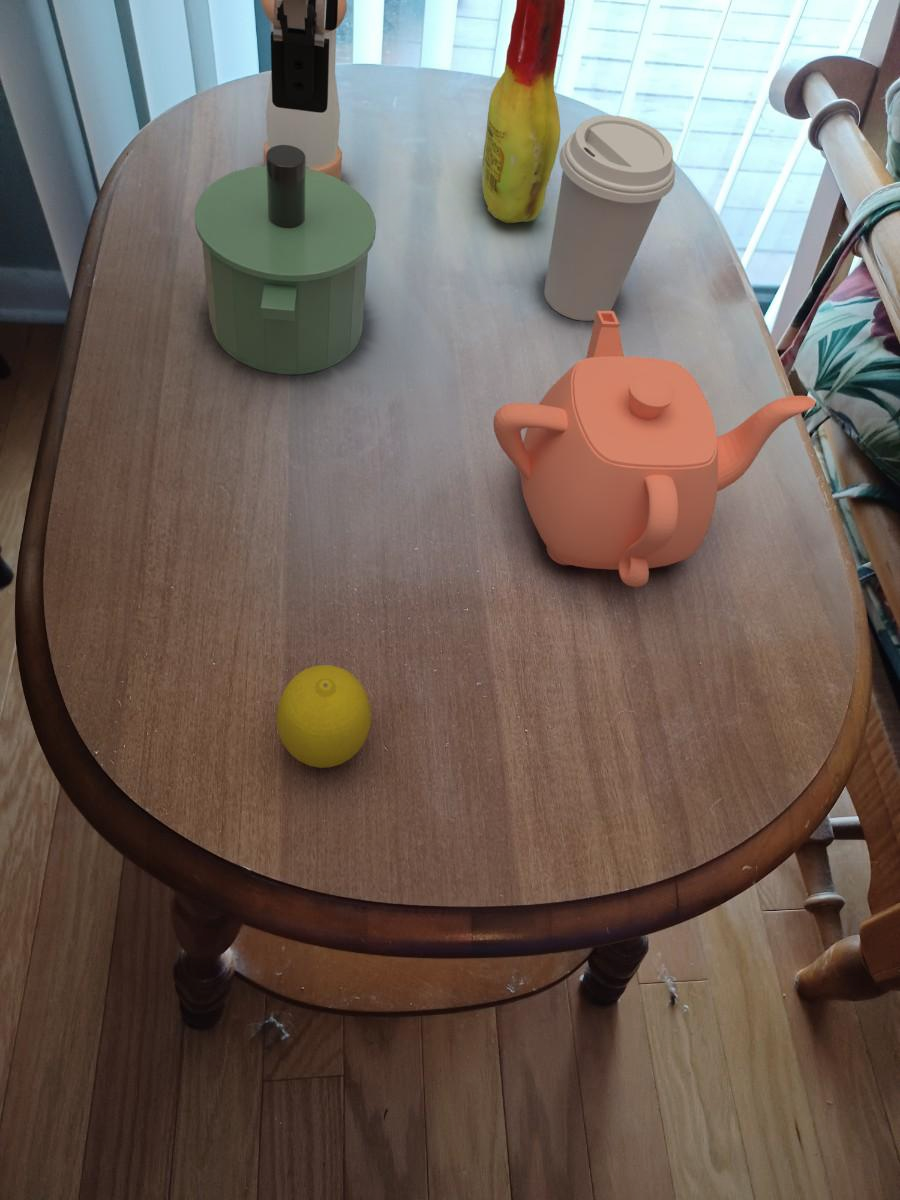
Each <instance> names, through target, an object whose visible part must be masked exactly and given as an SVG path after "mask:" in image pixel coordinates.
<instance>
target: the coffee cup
mask: <svg viewBox="0 0 900 1200" xmlns="http://www.w3.org/2000/svg"><path fill="white" fill-rule="evenodd" d="M673 156H674V152H673V147H672V145H671V142H670V141H669V140H668V139H667V137H666V136H664V134H663V133H662V132H661V131H659V130H657V129H656V128H654V127H653V126H651V125H649V124H647V123H645V122H642V121H640V120H637V119H635V118H631V117H626V116H620V115H597V116H593V117H590V118H587V119H586V120H584V121H582V122H581V123H580V124H578V127H577V128H576V130H575V131H574V132H573V133H572V134H570V136H569V137H568V138H567V140H566V141H565V142H564V144H563V146H562V147H561V150H560V152H559V156H558V157H559V159H558V160H559V164H560V167H561V169H562V172H561V173H562V174H561V180H560V186H559V192H558V193H559V194H558V200H557V201H558V202H557V206H556V213H555V220H554V226H553V233H552V239H551V245H550V252H549V258H548V263H547V264H548V265H547V271H546V276H545V277H546V278H545V281H544V282H545V283H544V290H543V292H544V293H543V294H544V298H545V301H546V302H547V304H548V305H549V307H551V308H552V309H553V310H554V311H556V312H557V313H558V314H560V315H562V316H564V317H565V318H569V319H571V320H576V321H583V322H591V321H594V320H595V316H596V312H597V311H612V309H613V307H614V305H615V303H616V301H617V298H618V297H619V294H620V291H621V289H622V287H623V285H624V283H625V280H626V278H627V276H628V274H629V271H630V270H631V267H632V265H633V262H634V261H635V258H636V257H637V254H638V252H639V250H640V247H641V245H642V243H643V241H644V239H645V236H646V234H647V231H648V230H649V227H650V225H651V222H652V220H653V219H654V217H655V214H656V212H657V210H658V207H659V205H660V203H661V201H662V199H663V198H664V197H665V196H667V195H668V194H669V193H670V192H671V191H672V190H673V188H674V185H675V181H676V180H675V179H676V165H675V162H674V157H673Z"/></svg>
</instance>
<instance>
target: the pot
mask: <svg viewBox="0 0 900 1200" xmlns="http://www.w3.org/2000/svg"><path fill="white" fill-rule="evenodd" d="M306 168H308V169H309V167H306ZM201 243H202V242H201ZM202 252H203V253H202V254H203V263H204V264H203V265H204V275H205V284H206V285H205V286H206V295H207V297H206V298H207V307H208V316H209V317H208V319H209V322H210V324H211V329H212V333H213V335H214V337H215V339H216V342H217V343H218V344H219V345H220V347H221V348H222V349H223V350H224V351H225V352H226V353H227V354H228V355H230V356H231V357H232V358H233V359H234V360H237V361H238V362H240V363H242V364H244V365H246V366H248V367H250V368H252V369H254V370H255V369H256V370H258V371H262V372H265V373H270V374H277V375H290V376H291V375H305V374H313V373H316V372H321V371H324V370H327V369H329V368H331V367H333V366H336V365H338V364H339V363H341V362H343V361H344V360H345V359H347V357H349V356H350V355H351V354H352V353H353V352H354V350H355V349H356V348H357V346H358V344H359V343H360V340H361V337H362V335H363V328H364V313H365V299H366V286H367V285H366V284H367V272H368V257H369V253H368V254H367V255H366V256H365V257H364V258H363V259H362V260H361V261H360V262H358V263H357V264H356V265H355V266H353V267H351V268H350V269H348V270H346V271H344V272H341V273H339V274H336V275H333V276H330V277H327V278H322V279H317V280H310V281H293V282H291V281H277V280H270V279H264V278H260V277H256V276H252V275H249V274H246V273H243V272H241V271H239V270H236V269H234V268H232V267H230V266H228V265H227V264H225V263H223V262H222V261H220V260H219V259H218V258H216V257H215V256H214V255H213V254H212V253H211V252H209V251H208V249H207V248H206V247H205V246H204V244H203V243H202Z"/></svg>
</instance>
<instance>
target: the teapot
mask: <svg viewBox="0 0 900 1200" xmlns="http://www.w3.org/2000/svg"><path fill="white" fill-rule="evenodd" d="M815 405H816V400H815V399H814V398H813V397H811V396H808V395H790V396H784V397H781V398H777V399H775V400H773V401H771V402H769V403H767V404H765V405H764V406H763V407H761V408H759V409H758V410H757V411H755V412H754V413H752V415H750V416H749V417H748V418H747V419H745V420H744V421H743V422H742V423H741V424H739V425H737V426H736V427H734V428H733V429H731V430H730V431H728V432H726V433H723V434H721V435H719V436H718V435H717V430H716V426H715V420H714V416H713V413H712V410H711V407H710V405H709V404H708V401H707V399H706V397H705V395H704V392H703V390H702V389H701V387H700V385H699V384H698V382H697V381H696V379H695V378H694V377H693V376H692V374H691V373H690V372H689V371H688V370H687V369H686V368H685V367H683V366H682V365H681V364H679V363H677V362H675V361H672V360H667V359H661V358H655V357H653V358H652V357H643V356H642V357H641V356H624V351H623V344H622V338H621V333H620V322H619V320H618V317H617V315H616V313H615V311H614V310H611V311H597V312H596V316H595V320H593V325H592V330H591V334H590V338H589V345H588V348H587V353H586V358H582V359H581V360H579V361H577V362H576V363H575V364H573V366H571V367H570V368H569V369H568V370H567V371H566V372H565V373H564V374H563V375H562V376H561V377H560V378H559V379H558V380H557V381H556V382H555V383H554V384H553V385H552V386H551V387H550V388H549V390H548V391H547V392H546V393H545V395H544V396H543V398H542V399H541V400H540V402H539V403H532V402H511V403H507V404H505V405H502V406H501V407H500V408H498V409H497V410H496V412H495V414H494V415H493V431H494V435H495V439H496V440H497V442H498V444H499V446H500V448H501V450H502V451H503V452H504V453H505V455H506V456H507V458H508V459H509V460H510V462H512V464H513V465H514V466H515V467H516V469H517V470H518V471H519V474H520V475H519V476H520V484H521V490H522V494H523V499H524V501H525V504H526V507H527V510H528V513H529V514H530V518H531V519H532V522H533V524H534V526H535V528H536V530H537V532H538V534H539V536H540V538H541V540H542V541H543V543H544V544H545V546H546V552H547V554H548V556H549V557H550V559H551V560H552V561H554V562H555V563H557V564H559V565H563V566H574V567H580V568H585V569H595V570H617V571H618V574H619V577H620V579H621V581H622V582H623V583H624V584H625V585H627V586H630V587H633V588H640V587H642V586H645V585H646V584H647V583H648V581H649V575H650V571H649V569H653V568H660V567H661V568H662V567H666V566H670V565H673V564H675V563H678V562H681V561H684V560H686V559H688V558H689V557H690V556H692V555H693V554H694V553H695V552H697V551H698V549H700V548H701V545H702V544H703V542H704V540H705V538H706V535H707V533H708V530H709V529H710V525H711V522H712V520H713V519H712V518H713V515H714V512H715V509H716V508H715V507H716V502H717V496H718V495H717V494H718V492H720V491H722V490H724V489H726V488H728V487H729V486H731V485H732V484H734V483H736V481H738V480H739V479H740V478H741V477H742V476H743V475H744V474H745V473H746V472H747V471H748V470H749V469H750V467H751V466H752V464H753V463H754V461H755V460H756V458H757V456H758V455H759V453H760V452H761V450H762V448H763V447H764V445H765V444H766V442H767V441H768V440H769V438H770V437H771V436H772V434H773V433H774V432H775V431H776V430H777V429H778V428H779V427H780V426H781V425H782V424H784V423H786V422H787V421H788V420H789V419H791V418H794V417H796V416H798V415H800V414H803V413H804V412H807V411H808V410H810V409H812V408H813V407H815ZM523 429H524V430H525V429H526V432H525V434H524V437H523V438H522V433H521V432H522V430H523Z"/></svg>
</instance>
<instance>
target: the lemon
mask: <svg viewBox="0 0 900 1200" xmlns="http://www.w3.org/2000/svg"><path fill="white" fill-rule="evenodd" d="M371 723H372V709H371V704H370V701H369V697H368V693H367V691H366V690H365V688H364V686H363V684H362V683H361V681H360V680H359V679H358V678H356V677H355V675H353V674H352V673H351V672H349V671H348V670H346V669H345V668H343V667H339V666H336V665H332V664H331V665H329V664H319V665H313V666H310V667H308V668H305V669H303V670H301V671H300V672H299V673H297V674H295V676H294V677H293V678H292V679H290V681H289V682H288V683H287V685H286V686H285V688H284V689H283V692H282V693H281V695H280V697H279V700H278V705H277V710H276V728H277V733H278V735H279V738H280V740H281V743H282V745H283V746H284V747H285V749H286V750H287V752H288V753H289V754H290V755H291V756H292V757H293V758H295V759H296V760H297V761H298V762H301V763H303V764H305V765H306V766H309V767H315V768H318V769H321V768H324V769H325V768H332V767H335V766H339V765H342V764H344V763H345V762H347V761H349V760H351V759H352V758H353V757H354V756H355V755H356V754H357V753H358V752H359V751H360V750H361V748H362V747H363V745H364V743H365V742H366V740H367V739H368V735H369V732H370V728H371Z"/></svg>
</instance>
